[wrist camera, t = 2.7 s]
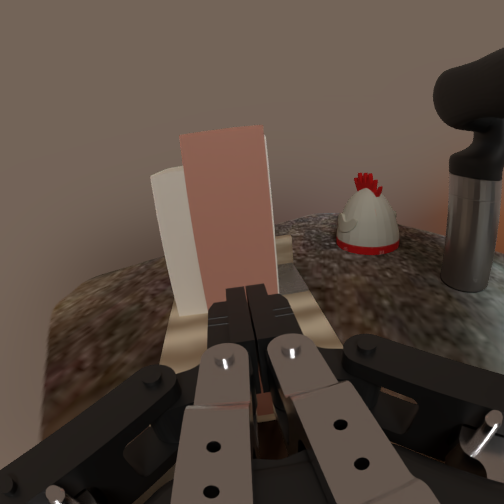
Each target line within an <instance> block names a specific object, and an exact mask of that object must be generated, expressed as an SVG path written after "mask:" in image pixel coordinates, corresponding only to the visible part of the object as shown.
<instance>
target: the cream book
mask: <svg viewBox="0 0 504 504" xmlns="http://www.w3.org/2000/svg"><path fill="white" fill-rule="evenodd" d="M150 177H151V184H152V191H153V196H154V202H155V208H156V214H157V219H158V224H159V229H160V234H161V239H162V244H163V249H164V254H165V259H166V263H167V268H168V272H169V276H170V281H171V285H172V289H173V293H174V297H175V301H176V305H177V309H178V313H179V316H187V315H195V314H204V313H208V309H207V304H206V299H205V294H204V289H203V284H202V279H201V273H200V268H199V263H198V257H197V252H196V246H195V240H194V234H193V228H192V222H191V216H190V210H189V203H188V197H187V190H186V183H185V176H184V169H183V166H179V167H174V168H168V169H165V170H163V171H160V172H158V173H156V174H154V175H151V176H150Z"/></svg>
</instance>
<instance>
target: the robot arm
mask: <svg viewBox="0 0 504 504" xmlns="http://www.w3.org/2000/svg"><path fill="white" fill-rule="evenodd" d="M433 101H434V106H435V109H436V111H437V113H438V115H439V117H440V118H441V119H442V121H444V123H446V124H447V125H449V126H450V127H453V128H455V129H459V130H466V131H474V138H473V142H472V144H471V145H470V146H469V147H468V148H466V149H464V150H462V151H460V152H457V153H454V154H453V155H451V156H450V159H449V172H450V173H449V201H448V217H447V229H446V239H445V247H444V255H443V262H442V269H441V279H442V280H443V281H444V282H445V283H446V284H447V285H449V286H451V287H453V288H455V289H458V290H461V291H467V292H478V291H482V290H484V289H485V288H486V287H487V285H488V281H489V277H490V272H491V267H492V262H493V257H494V252H495V245H496V238H497V231H498V223H499V215H500V205H501V189H502V171H503V167H504V48H502V49H499V50H497V51H495V52H493V53H491V54H489V55H487V56H485V57H483V58H481V59H479V60H477V61H474V62H471V63H469V64H465V65H462V66H459V67H455V68H452V69H449V70H446V71H444V72H443V73H442V74H441V75H440V76H439V78H438V79H437V81H436V84H435V87H434V92H433ZM245 287H246V294H245V289H244V286H241V287H234V288H226V301H223V302H215V303H213V304H212V306H211V307H210V308H209V310H208V328H207V350H206V351H205V352H204V353H203V354H202V356H201V360H200V364H199V365H197V366H196V367H194V368H192V369H190V370H187V371H184V372H181V373H177V374H176V373H175V371H174V370H173V369H172V368H170V367H168V366H166V365H159V364H158V365H150V366H147V367H144V368H142V369H140V370H139V371H137V372H136V373H134V374H133V375H132V376H130V377H129V378H128V379H127V380H125V381H124V382H123V383H121V384H120V385H119V386H117V387H116V388H115V389H113V390H112V391H110V392H109V393H108V394H106V395H105V396H104V397H102V398H101V399H100V400H98V401H97V402H96V403H94V404H93V405H92V406H90V407H89V408H87V409H86V410H85V411H83V412H82V413H81V414H79V415H78V416H77V417H75V418H74V419H72V420H71V421H70V422H68V423H67V424H65V425H64V426H63V427H61V428H60V429H59V430H57V431H56V432H54V433H53V434H51V435H50V436H49V437H47V438H46V439H44V440H43V441H42V442H40V443H39V444H37V445H36V446H35V447H33V448H32V449H30V450H29V451H27V452H26V453H24V454H23V455H22V456H20V457H19V458H17V459H16V460H14V461H13V462H11V463H10V464H8V465H7V466H6V467H4V468H3V469H1V470H0V504H132V503H133V502H134V501H135V500H136V499H138V498H139V497H140V496H141V495H142V494H143V493H144V492H145V491H147V490H148V489H149V488H150V487H151V486H152V485H153V484H154V483H155V482H156V481H157V480H158V479H159V478H161V477H162V476H163V475H164V474H165V473H166V472H167V471H168V470H169V469H170V468H171V467H172V466H173V465H174V464H175V463H176V468H175V474H174V479H173V480H171V481H169V482H168V483H166V484H165V485H163V486H162V487H161V488H159V489H158V490H157V491H156V492H155V493H154V494H153V495H152V496H151V497H150V498H149V499H148V500H147V501H146V502H145V503H144V504H504V375H503V374H499V373H495V372H492V371H488V370H485V369H481V368H478V367H474V366H471V365H468V364H464V363H461V362H458V361H454V360H451V359H448V358H444V357H441V356H438V355H435V354H431V353H428V352H425V351H422V350H419V349H416V348H413V347H409V346H406V345H403V344H400V343H397V342H394V341H391V340H388V339H385V338H382V337H379V336H376V335H372V334H359V335H355V336H353V337H351V338H349V339H348V340H346V342H345V343H344V345H343V349H332V348H321V347H317V346H316V345H315V344H314V342H313V341H312V340H311V339H310V338H309V337H307V336H305V335H303V332H302V330H301V328H300V326H299V324H298V321H297V319H296V317H295V315H294V313H293V310H292V308H291V306H290V304H289V302H288V299H287V298H285V297H284V296H282V295H281V294H272V295H268V293H267V291H266V288H265V285H264V283H262V284H255V285H248V286H245ZM246 296H247V299H246ZM258 368H259V369H258ZM259 373H260V377H259ZM260 378H261V383H262V388H263V393H266V392H270V393H271V397H272V405H273V412H274V414H275V417H276V420H277V423H278V426H279V429H280V432H281V435H282V438H283V441H284V443H285V446H286V449H287V452H288V456H289V457H287V458H284V459H280V460H267V459H260V448H259V433H258V419H257V410H256V409H257V406H258V402H257V395H256V394H261V385H260ZM381 387H384V388H386V389H389V390H392V391H394V392H397V393H400V394H402V395H405V396H408V397H410V398H412V399H414V400H415V401H416V402H417V403H418V404H413V403H410V402H407V401H404V400H402V399H399V398H397V397H394V396H391V395H389V394H386V393H384V392H381V391H380V389H381ZM149 425H151V426H150V427H149V428H148V429H147V430H145V431H144V432H143V433H142V434H141V435H140V436H138V437H137V438H136V439H135V440H134V441H133V442H131V443H130V444H129V445H128V446H127V447H126V448H125V446H126V445H127V444H128V443H129V442H130V441H132V440H133V439H134V438H135V437H136V436H137V435H139V434H140V433H141V432H142V431H143V430H144V429H146V428H147V427H148V426H149ZM390 441H391V442H394V443H396V444H399V445H401V446H399V445H395V444H391V442H390ZM402 446H404V447H406V448H404V447H402ZM407 448H409V449H411V450H414V451H417V452H419V453H422V454H425V455H427V456H430V457H433V458H436V459H439V460H442V461H445V463H446V464H444V463H441V462H438V461H436V460H433V459H431V458H428V457H426V456H423V455H421V454H418V453H416V452H414V451H411V450H409V449H407Z"/></svg>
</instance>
